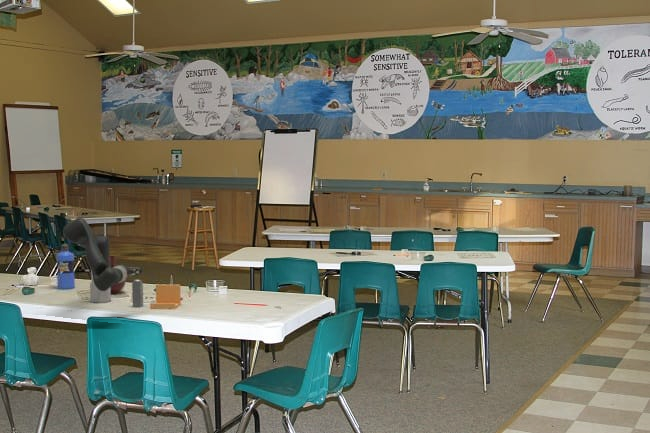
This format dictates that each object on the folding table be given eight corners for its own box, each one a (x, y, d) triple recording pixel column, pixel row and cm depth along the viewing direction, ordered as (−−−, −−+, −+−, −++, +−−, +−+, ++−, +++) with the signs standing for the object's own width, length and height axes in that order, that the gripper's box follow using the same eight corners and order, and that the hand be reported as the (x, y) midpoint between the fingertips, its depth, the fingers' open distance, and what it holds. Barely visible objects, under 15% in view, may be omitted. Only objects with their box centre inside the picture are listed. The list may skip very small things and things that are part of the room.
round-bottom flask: (129, 291, 440) (128, 254, 439) (120, 295, 427) (119, 258, 426) (106, 290, 442) (105, 254, 441) (96, 295, 429) (95, 257, 428)
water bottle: (60, 286, 456) (59, 242, 454) (77, 286, 456) (75, 242, 454) (55, 289, 447) (53, 244, 445) (72, 289, 447) (70, 244, 445)
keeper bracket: (150, 308, 391) (149, 288, 390) (157, 304, 402) (156, 284, 401) (174, 309, 390) (174, 288, 389) (180, 304, 401) (180, 284, 400)
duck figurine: (39, 289, 461) (47, 272, 467) (31, 283, 456) (39, 265, 461) (23, 288, 466) (31, 271, 472) (15, 281, 460) (23, 264, 466)
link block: (132, 307, 396) (132, 280, 395) (135, 305, 400) (134, 279, 399) (140, 307, 396) (140, 280, 394) (143, 305, 400) (142, 279, 398)
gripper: (134, 265, 368) (144, 261, 384) (103, 265, 369) (115, 261, 386) (134, 282, 369) (145, 277, 385) (103, 282, 370) (115, 276, 386)
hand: (130, 269), depth 385 cm, fingers open, 8 cm apart
